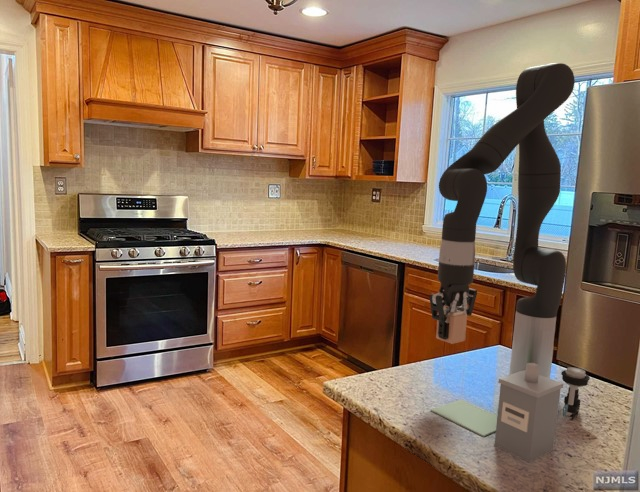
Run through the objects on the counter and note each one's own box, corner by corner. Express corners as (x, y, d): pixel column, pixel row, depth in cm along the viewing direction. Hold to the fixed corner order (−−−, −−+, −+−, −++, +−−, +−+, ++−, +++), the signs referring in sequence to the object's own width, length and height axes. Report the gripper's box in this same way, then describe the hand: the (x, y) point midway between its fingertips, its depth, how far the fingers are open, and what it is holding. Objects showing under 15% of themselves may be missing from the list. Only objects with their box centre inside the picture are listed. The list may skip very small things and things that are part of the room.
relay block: (448, 335, 119) (451, 302, 118) (465, 340, 115) (467, 307, 114) (435, 338, 116) (438, 305, 115) (452, 343, 113) (454, 309, 112)
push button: (580, 426, 106) (586, 378, 105) (552, 417, 109) (558, 372, 108) (586, 415, 111) (592, 370, 110) (559, 407, 114) (565, 363, 113)
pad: (460, 400, 115) (460, 399, 115) (513, 424, 105) (513, 422, 105) (430, 410, 109) (430, 409, 109) (483, 436, 99) (483, 435, 99)
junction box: (518, 433, 101) (526, 354, 99) (555, 450, 95) (565, 367, 93) (491, 445, 96) (500, 362, 94) (529, 464, 90) (539, 376, 88)
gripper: (449, 266, 106) (443, 346, 108) (490, 261, 115) (484, 336, 117) (421, 260, 112) (416, 337, 114) (462, 256, 121) (457, 327, 123)
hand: (450, 336), depth 116 cm, fingers closed on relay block, 4 cm apart
